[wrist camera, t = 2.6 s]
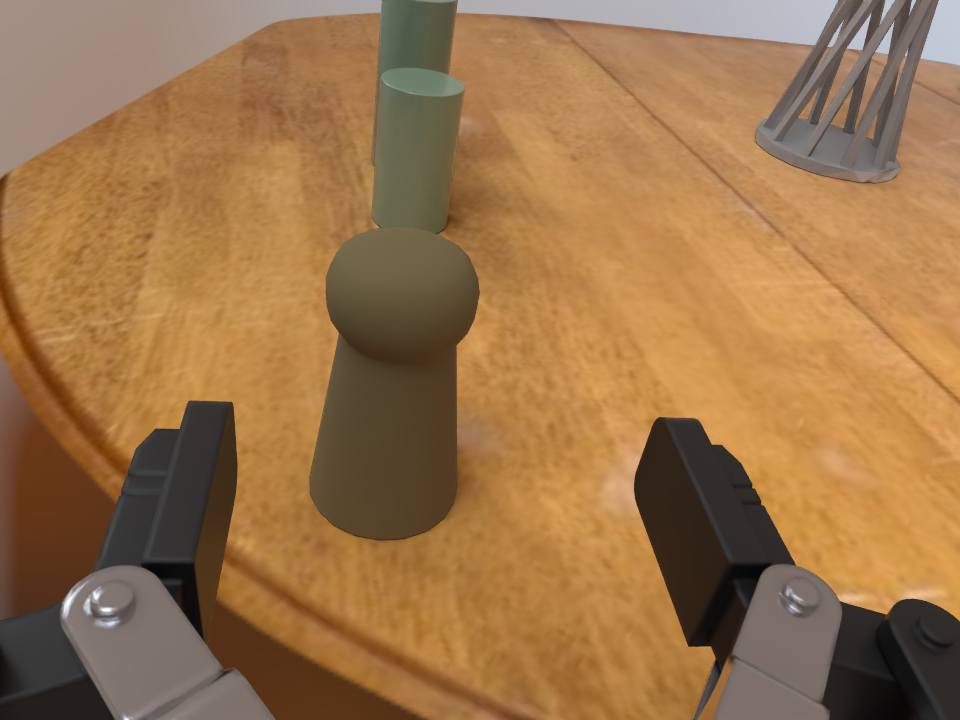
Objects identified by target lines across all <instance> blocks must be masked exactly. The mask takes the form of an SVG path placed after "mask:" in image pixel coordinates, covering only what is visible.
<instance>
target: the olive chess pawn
mask: <svg viewBox="0 0 960 720" xmlns="http://www.w3.org/2000/svg"><path fill="white" fill-rule="evenodd" d="M479 294H480V291H479V282H478V277H477V275H476V272H475V269H474V267H473V265H472V263H471V261H470V259H469V257H468V255H467V254H466V253H465V252H464V251H463V250H462V249H461V248H460V247H459V246H457V245H456V244H454V243H452V242H451V241H449V240H447V239H445V238H444V237H442V236H440V235H437V234H434V233H431V232H428V231H425V230H420V229H415V228H409V227H386V228H378V229H373V230H370V231H367V232H364V233H361V234H358V235H355V236H354V237H352V238H351V239H349V240H348V241H347V242H345V243H344V244H343V246H342V247H341V248H340V249H339V250H338V252H337V253H336V255H335V257H334V258H333V260H332V262H331V264H330V267H329V270H328V273H327V276H326V301H327V308H328V312H329V315H330V319H331V321H332V323H333V324H334V326H335V327H336V329H337V330H338V332H339V337H338V342H337V347H336V351H335V356H334V361H333V366H332V371H331V376H330V380H329V385H328V390H327V395H326V400H325V404H324V409H323V414H322V419H321V424H320V429H319V433H318V438H317V443H316V448H315V453H314V458H313V462H312V467H311V472H310V477H309V478H310V495H311V497H312V499H313V501H314V503H315V505H316V507H317V509H318V511H319V512H320V513H321V514H322V515H323V516H324V517H325V518H327V519H328V520H329V521H330V522H331V523H332V524H333V525H334V526H336V527H338V528H341V529H343V530H345V531H347V532H349V533H351V534H353V535H355V536H361V537H366V538H371V539H377V540H388V539H404V538H407V537H410V536H413V535H416V534H419V533H422V532H425V531H427V530H429V529H430V528H431V527H433V526H434V525H436V524H437V523H439V522H440V521H441V520H443V519H444V517H445V516H446V514H447V513H448V512H449V510H450V509H451V507H452V506H453V504H454V500H455V495H456V489H457V353H456V345H457V344H458V343H459V342H460V341H461V340H462V339H463V338H464V337H465V336H466V334H467V333H468V331H469V329H470V327H471V325H472V323H473V321H474V319H475V314H476V310H477V305H478V299H479Z"/></svg>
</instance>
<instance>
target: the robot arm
mask: <svg viewBox="0 0 960 720" xmlns="http://www.w3.org/2000/svg"><path fill="white" fill-rule="evenodd" d="M236 485H237V451H236V436H235V420H234V407H233V403H232V402H218V401H189V402H188V404H187V406H186V409H185V413H184V416H183V420H182V423H181V426H180V429H155V430H154V431H153V432H152V433H151V434H150V435H149V436H148V437H147V438H146V439H145V440H144V441H143V442H142V443H141V444H140V445H139V446H138V447H137V448H136V450H135V453H134V456H133V459H132V461H131V464H130V467H129V470H128V476H127V477H126V479H125V481H124V484H123V487H122V490H121V496H119V499H118V501H117V504H116V507H115V510H114V513H113V516H112V519H111V522H110V524H109V527H108V530H107V533H106V536H105V539H104V541H103V544H102V547H101V550H100V553H99V556H98V559H97V561H96V564H95V567H94V569H93V571H92V573H91V574H90V575H89V576H87V577H85V578H84V579H83V580H81V581H80V582H79V583H77V584H76V585H75V586H74V587H73V588H72V589H71V591H70V592H69V593H68V595H67V596H66V598H65V599H63V600H61V601H60V602H58V603H56V604H54V605H51V606H49V607H47V608H44V609H41V610H38V611H35V612H31V613H27V614H24V615H20V616H16V617H12V618H9V619H5V620H1V621H0V720H275V718H274V717H273V716H272V714H271V713H270V711H269V710H268V709H267V707H266V706H265V705H264V703H263V702H262V700H261V699H260V698H259V696H258V695H257V694H256V693H255V691H254V689H253V688H252V687H251V685H250V684H249V683H248V682H247V680H246V679H245V677H244V676H243V675H242V674H241V673H240V672H239V671H238V670H236V669H235V668H233V667H230V668H228V669H225V668H223V667H222V666H221V665H220V663H219V662H218V661H217V659H216V658H215V657H214V655H213V654H212V652H211V651H210V650H209V648H208V647H207V642H208V637H209V632H210V627H211V622H212V616H213V611H214V606H215V601H216V595H217V590H218V585H219V580H220V574H221V569H222V564H223V558H224V553H225V548H226V543H227V537H228V532H229V527H230V521H231V516H232V511H233V506H234V500H235V494H236ZM634 493H635V500H636V504H637V507H638V509H639V512H640V515H641V518H642V520H643V523H644V526H645V529H646V531H647V534H648V537H649V540H650V542H651V545H652V548H653V551H654V553H655V556H656V559H657V562H658V564H659V567H660V570H661V572H662V575H663V578H664V581H665V583H666V586H667V589H668V592H669V594H670V597H671V600H672V603H673V605H674V608H675V611H676V614H677V616H678V619H679V622H680V625H681V627H682V630H683V633H684V636H685V638H686V641H687V644H688V647H699V646H711V647H712V650H713V652H714V655H715V657H716V658H715V660H714V662H713V664H712V666H711V667H710V670H709V672H708V675H707V678H706V680H705V683H704V685H703V688H702V691H701V693H700V696H699V698H698V701H697V703H696V706H695V709H694V711H693V714H692V716H691V719H690V720H960V621H959V620H958V619H956V618H955V617H954V616H953V615H951V614H950V613H949V612H947V611H946V610H944V609H942V608H941V607H939V606H937V605H934V604H932V603H929V602H927V601H923V600H918V599H905V600H901V601H899V602H897V603H896V604H895V605H894V606H893V607H892V609H891V610H890V611H889V613H888V614H887V615H886V614H882V613H879V612H875V611H872V610H868V609H864V608H861V607H857V606H853V605H850V604H847V603H844V602H841V601H839V599H838V597H837V595H836V594H835V593H834V591H833V590H832V589H831V587H830V586H829V585H828V584H827V583H826V582H825V581H823V580H822V579H821V578H820V577H818V576H817V575H815V574H814V573H812V572H810V571H808V570H806V569H804V568H801V567H798V566H796V564H795V563H794V561H793V559H792V557H791V555H790V553H789V551H788V550H787V548H786V546H785V544H784V542H783V540H782V538H781V537H780V535H779V533H778V531H777V529H776V527H775V525H774V524H773V522H772V520H771V518H770V516H769V514H768V512H767V511H766V509H765V507H764V506H762V505H761V499H760V498H759V496H758V494H757V492H756V490H755V489H753V488H752V483H751V481H750V479H749V477H748V475H747V473H746V472H745V470H744V468H743V466H742V464H741V463H740V462H739V461H738V460H737V459H736V458H735V457H734V456H733V455H732V454H731V453H729V452H728V451H727V450H726V449H725V448H724V447H723V446H722V445H712V444H711V442H710V440H709V438H708V436H707V435H706V433H705V431H704V429H703V427H702V425H701V423H700V422H699V421H698V420H697V419H695V418H668V417H659V418H657V419H656V420H655V422H654V424H653V426H652V429H651V432H650V434H649V437H648V440H647V443H646V445H645V448H644V451H643V454H642V457H641V459H640V462H639V465H638V468H637V471H636V474H635V481H634Z"/></svg>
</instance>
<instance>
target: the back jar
mask: <svg viewBox="0 0 960 720" xmlns="http://www.w3.org/2000/svg"><path fill="white" fill-rule="evenodd" d="M457 2H458V0H382V4H381V19H380V34H379V50H378V65H377V80H376V96H375V111H374V126H373V142H372V157H371V160H372V163H373V165H374V166H375V155H376V140H377V125H378V111H379V96H380V82H381V75H382V73H384V72H385V71H387V70H391V69H396V68H421V69H428V70H433V71H437V72H441V73H445V74H447V75H449V69H450V61H451V53H452V44H453V36H454V28H455V19H456V10H457Z"/></svg>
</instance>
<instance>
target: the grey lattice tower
mask: <svg viewBox="0 0 960 720" xmlns="http://www.w3.org/2000/svg"><path fill="white" fill-rule="evenodd" d="M863 1H864V2H863ZM911 1H912V0H895V1H894V3H893V4H892V6H891V8H890V9H889V11H888V12H887V14H886V16H885V17H884V19H883V21H882V22H881V24H880V20H881V16H882V12H883V8H884V4H885V0H838V2H837V4H836V6H835V8H834V10H833V12H832V14H831V16H830V18H829V20H828V22H827V23H826V25H825V27H824V29H823V31H822V33H821V35H820V37H819V39H818V41H817V42H816V44H815V46H814V48H813V49H812V51H811V52H810V54H809V55H808V57H807V58H806V60H805V62H804V63H803V65H802V66H801V68H800V69H799V71H798V72H797V74H796V75H795V77H794V78H793V80H792V82H791V83H790V85H789V86H788V88H787V89H786V91H785V92H784V94H783V95H782V97H781V99H780V100H779V102H778V103H777V105H776V106H775V108H774V109H773V111H772V112H771V114H770V115H769V117H768V118H766V119H764V120H763V121H762V122H761V124H760V125H759V126H758V127H757V130H756V143H757V144H759V145H760V146H761V147H762V148H763V149H764V150H766V151H767V152H768V153H769V154H771V155H773V156H775V157H777V158H779V159H781V160H783V161H785V162H787V163H789V164H791V165H793V166H796V167H799V168H801V169H804V170H807V171H810V172H813V173H816V174H819V175H823V176H829V177H834V178H839V179H845V180H850V181H855V182H861V183H864V182H871V183H878V182H883V181H888V180H892V178H893V177H895V176H896V174H897V172H898V170H899V168H900V165H899V162H898V160H897V157H896V155H897V150H898V145H899V141H900V136H901V132H902V127H903V122H904V118H905V113H906V109H907V104H908V100H909V95H910V90H911V86H912V82H913V79H914V76H915V73H916V69H917V66H918V63H919V60H920V57H921V54H922V51H923V47H924V44H925V41H926V38H927V35H928V32H929V29H930V26H931V22H932V19H933V16H934V13H935V10H936V7H937V4H938V0H916V2H915V4H914V7H913V9H912V11H911V13H910V15H909V12H910V6H911ZM871 12H872V14H871ZM870 14H871V18H870V22H869V27H868V31H867V36H866V39H865V43H864V47H863V51H862V54H861V56H860V57H859V59H858V61H857V62H856V64H855V65H854V67H853V69H852V70H851V72H850V73H849V75H848V77H847V78H846V80H845V81H844V83H843V85H842V86H841V88H840V89H839V91H838V93H837V94H836V96H835V97H834V99H833V101H832V102H831V104H830V106H829V107H828V109H827V110H826V112H825V114H824V115H823V117H822V118H821V120H820V122H818V120H819V118H820V115H821V112H822V110H823V107H824V104H825V102H826V99H827V96H828V94H829V91H830V89H831V86H832V83H833V81H834V78H835V75H836V73H837V70H838V67H839V65H840V62H841V59H842V57H843V54H844V51H845V49H846V48H847V46H848V45H849V44H850V42H851V41H852V39H853V38H854V36H855V35H856V33H857V32H858V31H859V29H860V28H861V26H862V25H863V24H864V22H865V21H866V19H867V18H868V16H869V15H870ZM843 20H844V21H843ZM894 20H895V22H894V28H893V33H892V39H891V44H890V50H889V55H888V61H887V64H886V66H885V68H884V70H883V72H882V75H881V77H880V79H879V81H878V83H877V85H876V87H875V90H874V92H873V94H872V96H871V98H870V100H869V102H868V104H867V107H866V109H865V111H864V113H863V115H862V117H861V119H860V122H859V124H858V126H857V128H856V130H855V132H854V128H855V123H856V119H857V115H858V111H859V107H860V103H861V99H862V95H863V90H864V86H865V82H866V78H867V74H868V70H869V66H870V62H871V57H872V56H873V54H874V52H875V51H876V49H877V48H878V46H879V44H880V43H881V41H882V40H883V38H884V36H885V35H886V33H887V32H888V30H889V28H890V27H891V25H892V24H893V21H894ZM842 21H843V24H842V27H841V30H840V32H839V35H838V38H837V40H836V42H835V44H834V45H833V46H832V48H831V49H830V51H829V52H828V54H827V55H826V57H825V58H824V60H823V61H822V62H821V64H820V65H819V67H818V68H817V70H816V71H815V73H814V74H813V72H814V70H815V69H816V67H817V65H818V63H819V61H820V59H821V57H822V55H823V54H824V52H825V50H826V48H827V46H828V44H829V42H830V40H831V38H832V37H833V35H834V33H835V32H836V30H837V29H838V27H839V25H840V24H841V23H842ZM879 24H880V25H879ZM908 48H909V49H908ZM907 50H908V54H907V59H906V62H905V65H904V69H903V72H902V75H901V78H900V81H899V84H898V87H897V91H896V94H895V97H894V91H895V86H896V81H897V75H898V70H899V66H900V64H901V62H902V60H903V58H904V56H905V54H906V52H907ZM812 74H813V75H812ZM811 76H812V77H811ZM819 86H820V88H819ZM853 86H854V89H853V93H852V97H851V101H850V105H849V110H848V114H847V118H846V122H845V126H844V128H841V127H837V126H834V125H831V124H830V123H831V122H832V120H833V118H834V117H835V115H836V114H837V112H838V110H839V109H840V107H841V106H842V104H843V102H844V101H845V99H846V98H847V96H848V94H849V93H850V91H851V89H852V88H853ZM818 88H819V90H818V93H817V96H816V99H815V101H814V104H813V107H812V110H811V112H810V115H809V118H808V119H801V118H798V116H799V115H800V113H801V112H802V111H803V109H804V108H805V106H806V105H807V103H808V102H809V101H810V99H811V98H812V96H813V95H814V93H815V92H816V91H817V89H818ZM893 97H894V100H893ZM892 102H893V103H892ZM877 112H878V116H877V121H876V127H875V133H874V138H873V140H872V139H869V138H867V137H866V135H867V133H868V131H869V129H870V127H871V125H872V123H873V121H874V119H875V117H876V115H877Z"/></svg>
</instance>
